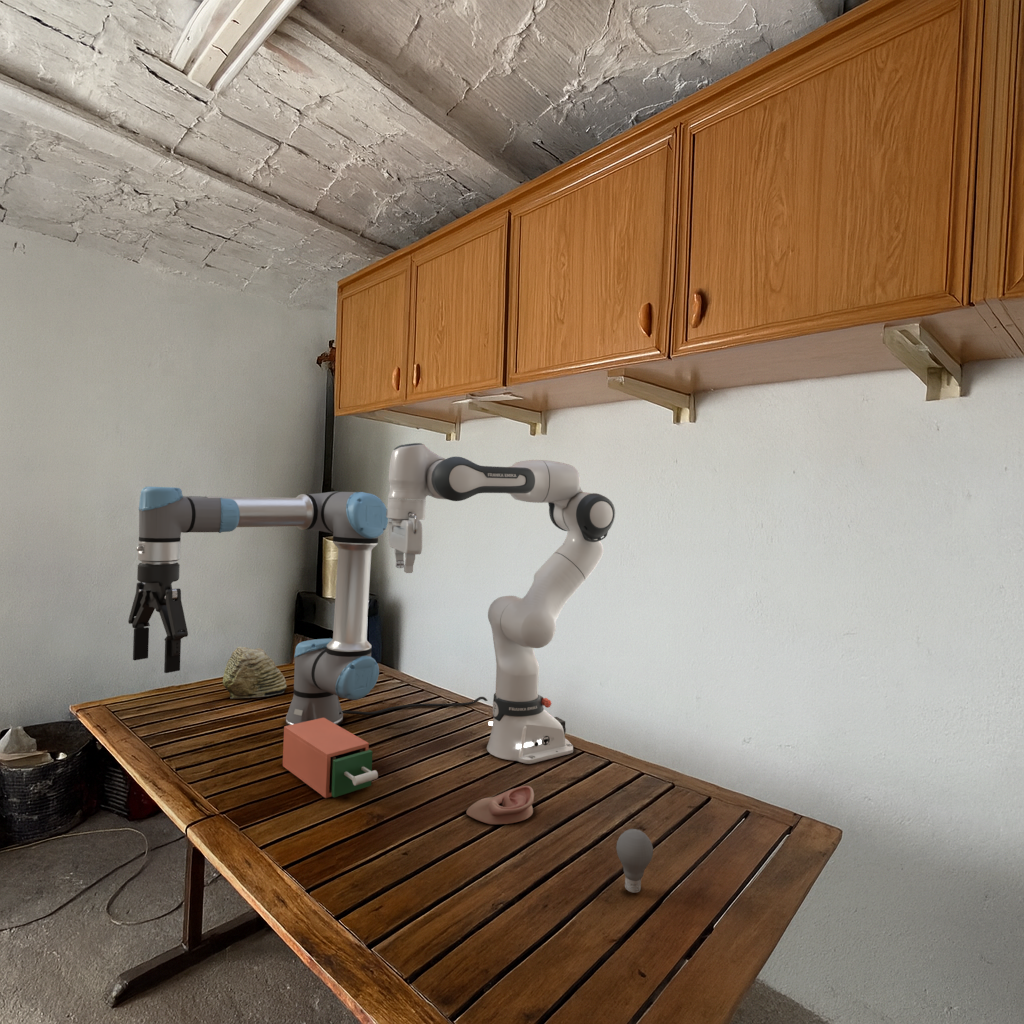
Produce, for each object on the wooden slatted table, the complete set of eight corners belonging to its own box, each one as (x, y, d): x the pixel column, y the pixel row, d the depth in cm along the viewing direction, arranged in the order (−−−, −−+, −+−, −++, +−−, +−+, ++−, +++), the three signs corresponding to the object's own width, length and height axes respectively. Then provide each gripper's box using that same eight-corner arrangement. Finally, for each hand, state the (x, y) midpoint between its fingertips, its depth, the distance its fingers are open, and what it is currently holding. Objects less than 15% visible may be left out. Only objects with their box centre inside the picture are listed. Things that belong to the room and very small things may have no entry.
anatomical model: (462, 800, 126) (477, 776, 137) (461, 820, 126) (476, 794, 137) (528, 810, 123) (537, 784, 135) (527, 830, 123) (536, 803, 135)
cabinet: (367, 784, 140) (369, 743, 140) (325, 798, 133) (327, 754, 133) (322, 755, 155) (323, 717, 155) (282, 766, 148) (284, 726, 148)
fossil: (218, 695, 195) (220, 647, 195) (278, 685, 208) (279, 640, 207) (228, 703, 189) (230, 653, 188) (289, 692, 201) (290, 645, 201)
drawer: (384, 794, 134) (386, 759, 134) (347, 807, 128) (348, 770, 128) (327, 756, 152) (328, 725, 152) (292, 766, 146) (293, 734, 145)
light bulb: (610, 879, 108) (613, 822, 108) (644, 879, 109) (647, 822, 109) (619, 902, 102) (622, 840, 102) (655, 901, 103) (658, 840, 103)
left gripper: (112, 557, 134) (109, 657, 134) (170, 569, 119) (166, 681, 120) (149, 555, 140) (146, 651, 140) (208, 566, 125) (205, 673, 126)
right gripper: (430, 513, 141) (427, 575, 141) (409, 510, 160) (407, 565, 160) (402, 512, 138) (399, 575, 139) (384, 509, 157) (382, 565, 158)
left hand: (155, 665), depth 130 cm, fingers open, 13 cm apart
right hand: (403, 570), depth 149 cm, fingers open, 8 cm apart
